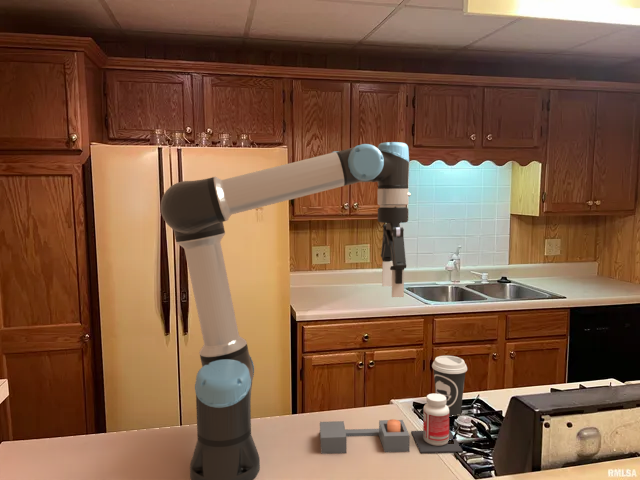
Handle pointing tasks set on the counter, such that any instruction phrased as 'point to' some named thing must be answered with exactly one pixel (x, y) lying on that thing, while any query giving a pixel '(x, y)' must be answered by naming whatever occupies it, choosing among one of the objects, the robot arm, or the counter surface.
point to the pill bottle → (436, 420)
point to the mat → (428, 448)
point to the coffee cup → (450, 381)
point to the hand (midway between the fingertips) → (392, 291)
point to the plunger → (393, 425)
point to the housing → (336, 433)
